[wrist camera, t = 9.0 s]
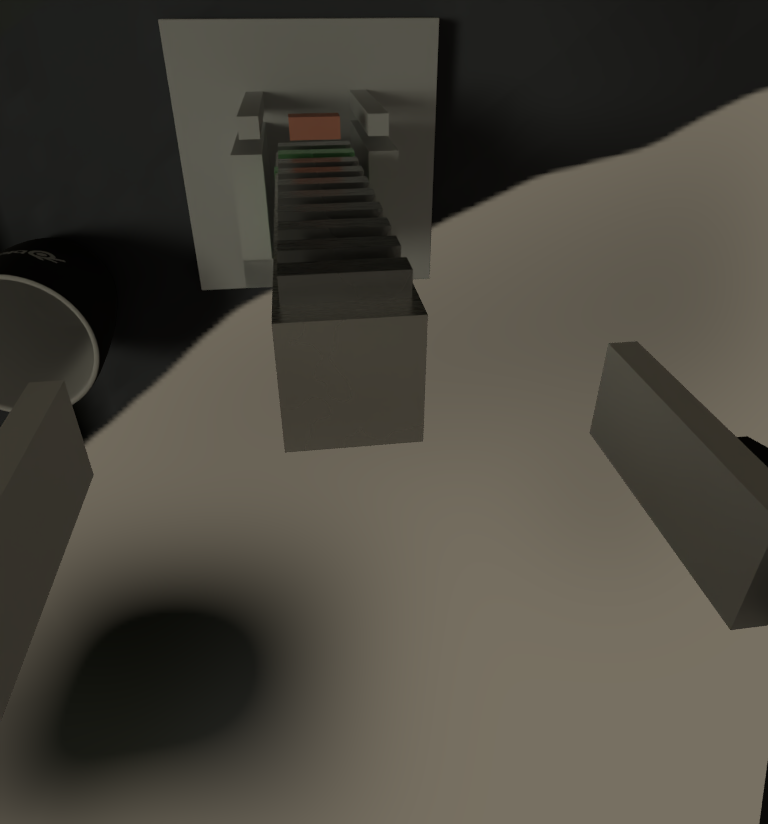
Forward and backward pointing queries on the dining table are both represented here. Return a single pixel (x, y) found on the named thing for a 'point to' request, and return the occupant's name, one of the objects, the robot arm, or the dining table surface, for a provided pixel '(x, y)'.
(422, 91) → the stand base
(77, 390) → the mug
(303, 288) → the column
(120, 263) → the dining table surface
